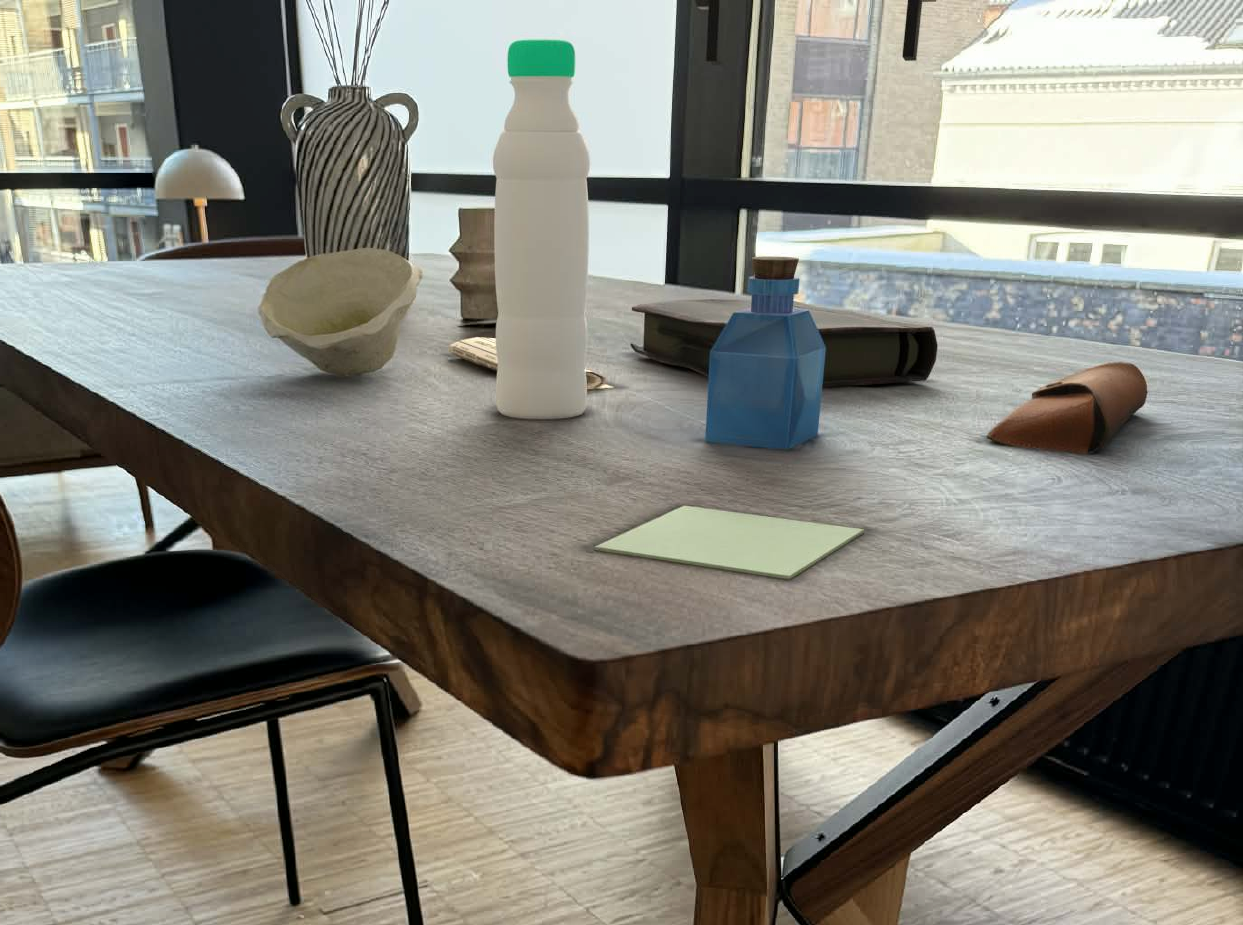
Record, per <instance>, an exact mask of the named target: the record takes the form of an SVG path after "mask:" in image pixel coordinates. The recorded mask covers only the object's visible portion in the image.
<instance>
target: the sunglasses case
mask: <svg viewBox="0 0 1243 925" xmlns="http://www.w3.org/2000/svg"><path fill="white" fill-rule="evenodd" d="M1147 397H1148V384H1147V381H1146V378H1145V376H1144V374H1143V372H1142V371H1141V370H1140V369H1139V367H1138V366H1136V365H1135V364H1133V363H1131V362H1123V361H1115V362H1107V363H1102V364H1098V365H1094V366H1092V367H1088V368H1085V369H1082V370H1080V371H1077V372H1075V373H1073V374H1070V375H1068V376H1066V377H1063V378H1061V379H1058V380H1055V381H1052V382H1049V383H1047V384H1045V385H1044V386H1041V387H1040V388H1037V389H1036V390H1034V391H1033V392H1032V393H1031V398H1030V399H1029V400H1027V401H1026V402H1024V403H1023V404H1020V405H1019V406H1018V407H1016V408H1014V410H1013V411H1010V412H1009V414H1008V415H1006V416H1005V417H1004V418H1003V419H1002V420H1000V421H999V422H998V423H996V424H995V426H994V427H992V429H990V431H989V432H988V433H987V435H986V439H987V440H990V441H992V442H994V443H996V444H1000V445H1005V446H1009V447H1017V448H1018V447H1019V448H1030V449H1039V450H1049V451H1061V452H1070V453H1079V454H1088V455H1092V454H1094V453H1096V452H1097V451H1098V450H1100V449H1101V447H1102V446H1104V445H1107V444H1108V443H1109V441H1110V440H1112V438H1113V436H1114V435H1115V434H1116V433H1117V431H1118V430H1119V429H1120V428H1121V427H1122V425H1124V423H1126V422H1127V421H1128V420H1129V419H1130V418H1131V417H1132V416H1133V415H1134V414H1136V413H1137V412H1138V411H1139V410H1140V409H1141V408H1143V407H1144V406H1145V404H1146V402H1147Z"/></svg>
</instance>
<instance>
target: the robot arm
mask: <svg viewBox="0 0 1243 925" xmlns="http://www.w3.org/2000/svg"><path fill="white" fill-rule="evenodd" d="M694 1H695V5H696V8H698V9H700V10H707V11H708V13H707V32H706V54H705V62H706V63H708V64H710V65H712V66H724V65H725V64H724V63H725V46H726V45H725V44H726V28H727V27H726V26H727V10H728V9H727V5H728V0H694ZM935 2H937V0H907V4H906V5H907V6H906V15H905V16H906V17H905V25H904V33H903V34H904V36H903V44H902V45H903V46H902V56H901V57H902V58H903V60H904V61H905V62H912V61H913V62H915V61H917V57H918V48H919V37H920V28H921V19H922V18H921V17H922V8H923V3H935Z"/></svg>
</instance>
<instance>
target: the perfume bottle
mask: <svg viewBox="0 0 1243 925" xmlns="http://www.w3.org/2000/svg"><path fill="white" fill-rule="evenodd" d="M799 260H800V258H798V257H794V256H793V257H792V256H754V257H751V261H752V270H753V276H749V277H748V280H747V282H748V283H747V293H748V294H751V299H750V300H751V308H749V309H745V310H741V311H737V312H733V314H732V316H731V317H730V319H729V321H728V322H727V324H726V326H725V328H724V329H723V331H722V333H721V334H720V336H719V338H718V339H717V341H716V343H715V344H714V346H713V348H712V349H711V351H710V363H709V377H708V380H707V381H708V384H707V400H706V415H705V416H706V417H705V419H706V420H705V436H704V442H708V443H718V444H719V443H720V444H729V445H737V446H745V447H756V448H765V449H774V450H785V451H788V450H790V449H792V448H794V447H796V446H798V445H801V444H803V443H806V442H807V441H809V440H812V439H813V438H815V437H817V436H819V427H820V416H821V404H822V394H823V387H822V384H823V374H824V363H825V352H826V347H825V345H824V342H823V340H822V338H821V336H820V334H819V331H818V329H817V327H816V325H815V322H814V320H813V318H812V316H811V314H810V311H809V310H798V309H793V301H795V300H794V298H795V295H798V294H799V290H800V278H799V277H796V276H795V275H796V271H797V268H798V264H799Z"/></svg>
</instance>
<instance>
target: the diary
mask: <svg viewBox="0 0 1243 925" xmlns="http://www.w3.org/2000/svg"><path fill="white" fill-rule="evenodd" d="M749 308H751V299H724V298H723V299H720V298H719V299H718V298H707V299H705V298H703V299H702V298H701V299H682V300H681V299H680V300H677V299H676V300H670V301H669V300H668V301H660V302H659V301H658V302H651V303H641V304H637V305H634V306H632V307H631V312H636V313H642V314H643V316H644V318H643V319H644V320H643V323H644V324H643V344H642V346H639V345H637V344H634V343H633V342H630V344H629V345H630V347H631V348H632V350H633V351H634V352H635V353H637V354H639V355H642V356H645V357H646V358H649V359H652V360H654V361H656V362H659V363H664V364H667V365H672V366H678V367H683V368H686V369H689V370H693V371H695V372H697V373H699V374H700V375H703V376H704V377H707V378H709V363H710V351H711V349H712V348H713V346H714V344H715V343H716V341H717V339H718V338H719V336H720V334H721V333H722V331H723V329H724V328H725V326H726V324H727V322H728V321H729V319H730V317H731V316H732V314H733V312H737V311H741V310H745V309H749ZM793 309H798V310H809V311H810V314H811V316H812V318H813V320H814V322H815V325H816V327H817V329H818V331H819V334H820V336H821V338H822V340H823V342H824V345H825V347H826V352H825V363H824V374H823V384H822V388H834V387H835V388H837V387H848V386H867V385H880V384H896V383H905V382H908V383H909V382H910V383H911V382H923V381H924V382H926V381H927V380H928V378H929V377H930V375H931V373H932V370H933V368H934V366H935V364H936V361H937V354H938V340H937V336H936V331H935V329H934V327H933V326H930V325H923V324H915V323H908V322H901V321H894V320H887V319H883V318H880V317H879V318H878V317H875V316H871V315H867V314H863V313H859V312H855V311H852V310H844V309H836V308H829V307H821V306H820V307H818V306H814V305H811V304H807V303H803V302H800V301H796V300H793Z"/></svg>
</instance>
